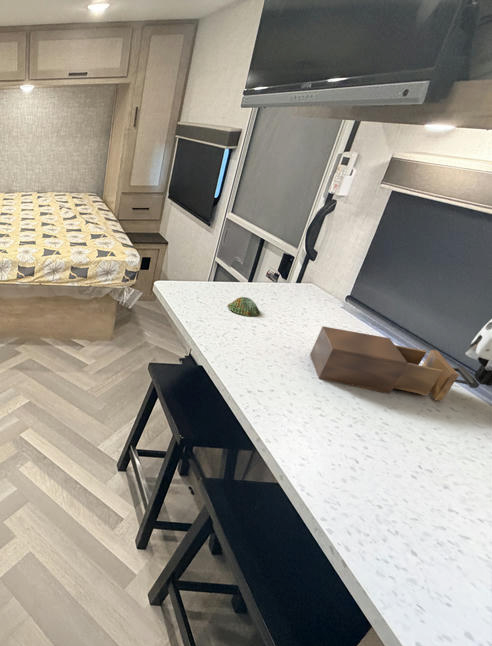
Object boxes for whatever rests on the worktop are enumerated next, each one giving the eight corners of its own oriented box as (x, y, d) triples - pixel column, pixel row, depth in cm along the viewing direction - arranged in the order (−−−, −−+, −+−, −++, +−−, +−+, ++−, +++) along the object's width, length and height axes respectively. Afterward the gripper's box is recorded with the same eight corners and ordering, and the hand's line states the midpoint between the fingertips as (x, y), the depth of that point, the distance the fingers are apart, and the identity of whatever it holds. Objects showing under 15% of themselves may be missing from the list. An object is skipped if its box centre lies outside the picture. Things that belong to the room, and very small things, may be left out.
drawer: (449, 380, 103) (466, 356, 99) (472, 407, 94) (491, 381, 90) (357, 362, 110) (370, 338, 107) (370, 385, 101) (384, 360, 98)
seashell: (232, 302, 136) (230, 291, 144) (228, 312, 138) (226, 301, 146) (265, 309, 133) (261, 298, 141) (260, 320, 135) (257, 308, 143)
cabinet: (373, 367, 110) (389, 338, 105) (389, 394, 100) (408, 362, 95) (309, 354, 116) (322, 326, 111) (318, 378, 106) (333, 348, 101)
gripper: (492, 315, 87) (447, 382, 96) (594, 331, 81) (536, 400, 90) (474, 301, 93) (433, 365, 102) (569, 315, 87) (516, 381, 96)
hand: (482, 381), depth 96 cm, fingers closed
